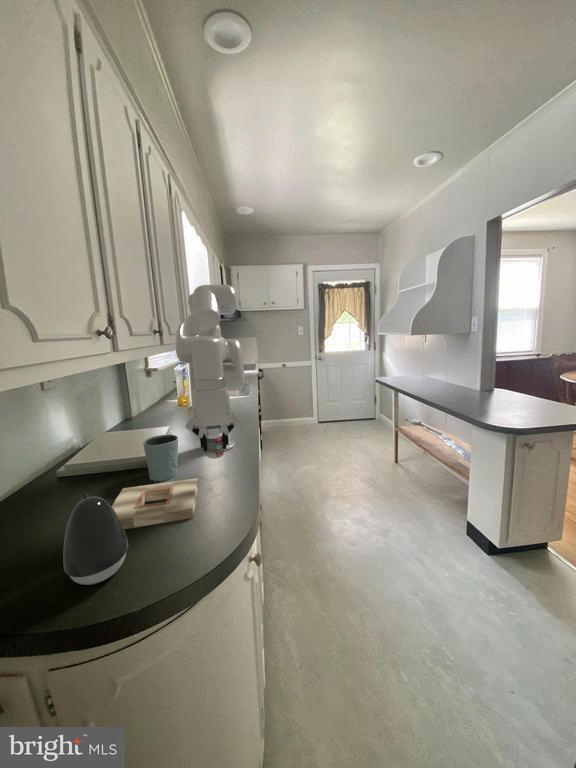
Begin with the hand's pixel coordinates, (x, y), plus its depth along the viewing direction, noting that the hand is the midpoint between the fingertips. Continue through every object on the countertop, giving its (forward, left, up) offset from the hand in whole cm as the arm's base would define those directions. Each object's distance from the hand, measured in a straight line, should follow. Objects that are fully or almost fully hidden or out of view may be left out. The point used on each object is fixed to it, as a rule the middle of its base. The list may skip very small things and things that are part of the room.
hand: (215, 447), depth 83 cm
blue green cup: (-15, -17, -13) cm, 26 cm away
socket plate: (+4, -16, -13) cm, 21 cm away
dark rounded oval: (+25, -22, -13) cm, 36 cm away
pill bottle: (0, 0, -2) cm, 2 cm away
